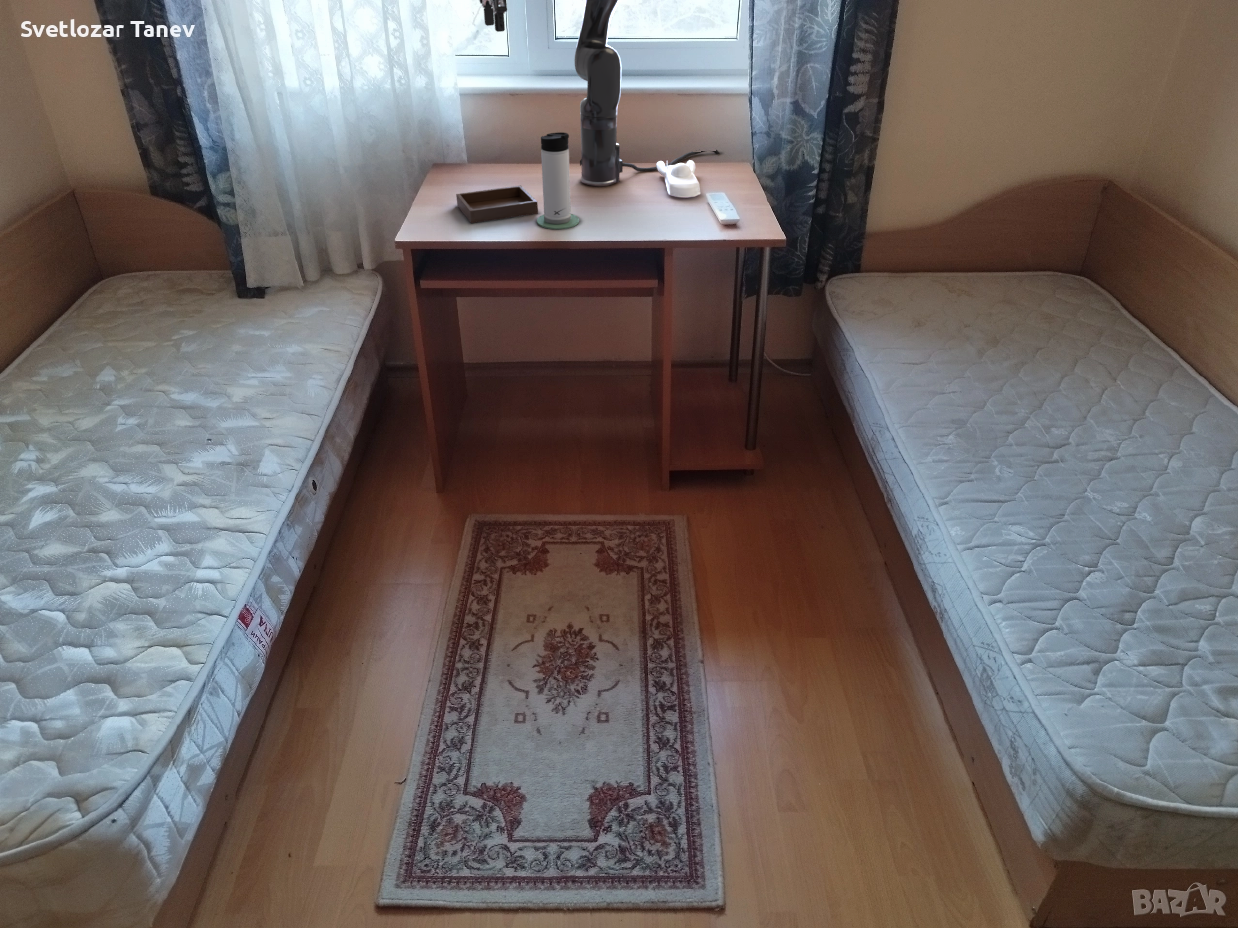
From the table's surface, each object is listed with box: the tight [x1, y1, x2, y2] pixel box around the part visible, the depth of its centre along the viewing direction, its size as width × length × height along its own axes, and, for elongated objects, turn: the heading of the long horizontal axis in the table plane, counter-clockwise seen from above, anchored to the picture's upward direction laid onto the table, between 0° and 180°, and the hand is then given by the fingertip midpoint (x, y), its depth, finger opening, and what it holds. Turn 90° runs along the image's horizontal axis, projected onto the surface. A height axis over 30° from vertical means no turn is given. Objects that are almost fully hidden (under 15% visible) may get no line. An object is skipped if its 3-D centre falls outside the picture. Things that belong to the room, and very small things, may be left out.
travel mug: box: [540, 131, 572, 224], centre depth 200 cm, size 6×7×20 cm
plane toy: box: [655, 159, 702, 198], centre depth 225 cm, size 10×20×6 cm, turn 5°
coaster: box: [536, 213, 580, 230], centre depth 206 cm, size 10×10×1 cm
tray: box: [455, 185, 539, 224], centre depth 211 cm, size 17×13×3 cm
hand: (494, 28), depth 210 cm, fingers open, 8 cm apart
